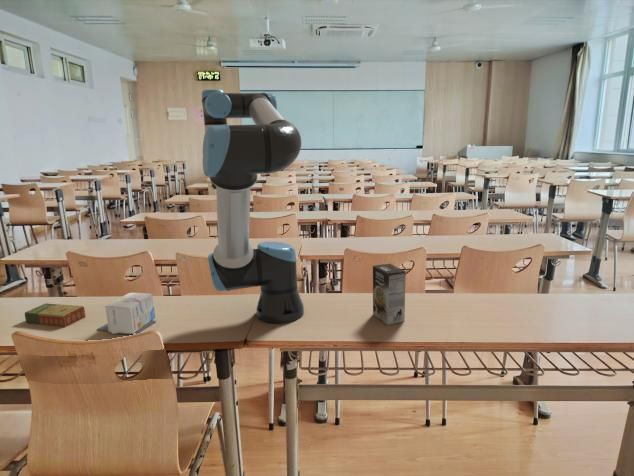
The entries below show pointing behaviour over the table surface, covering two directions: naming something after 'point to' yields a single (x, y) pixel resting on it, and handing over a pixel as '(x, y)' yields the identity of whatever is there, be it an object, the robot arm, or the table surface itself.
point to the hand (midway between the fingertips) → (222, 207)
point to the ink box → (130, 313)
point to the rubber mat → (105, 328)
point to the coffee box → (389, 293)
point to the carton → (55, 315)
